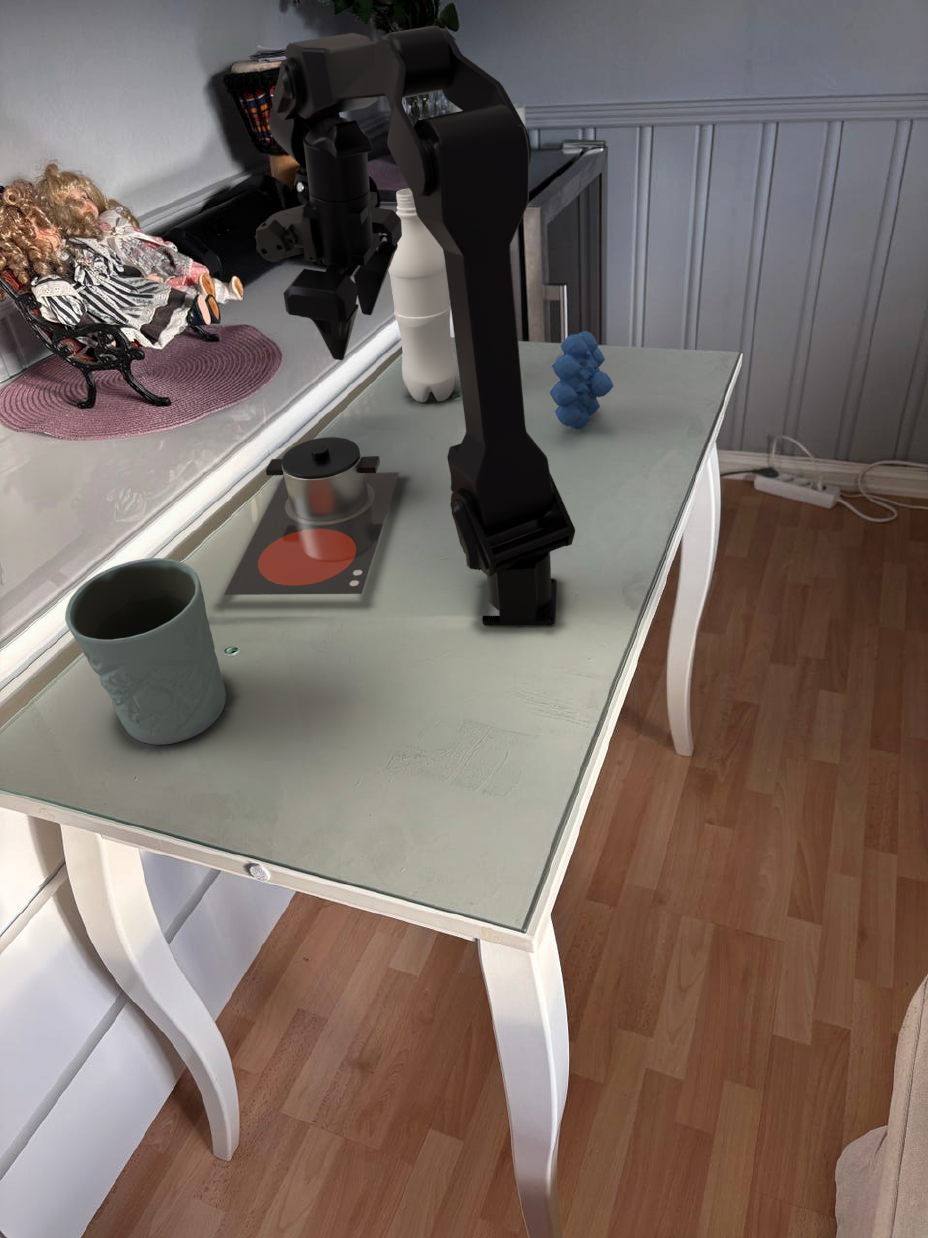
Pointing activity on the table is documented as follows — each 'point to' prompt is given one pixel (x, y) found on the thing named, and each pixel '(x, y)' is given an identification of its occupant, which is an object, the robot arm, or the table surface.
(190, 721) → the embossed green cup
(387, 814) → the table surface
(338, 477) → the pot
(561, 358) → the grapes
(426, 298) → the water bottle
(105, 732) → the table surface
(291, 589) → the hob
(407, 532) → the table surface
